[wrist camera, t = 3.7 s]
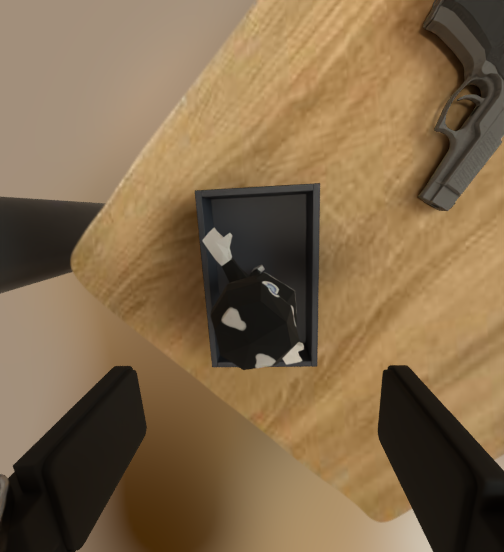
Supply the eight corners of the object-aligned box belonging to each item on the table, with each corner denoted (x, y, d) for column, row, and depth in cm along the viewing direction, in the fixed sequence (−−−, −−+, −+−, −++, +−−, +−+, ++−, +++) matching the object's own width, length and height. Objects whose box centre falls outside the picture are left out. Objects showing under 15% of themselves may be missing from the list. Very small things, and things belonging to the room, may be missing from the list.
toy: (314, 309, 29) (362, 408, 14) (269, 334, 30) (271, 449, 15) (251, 208, 26) (232, 202, 12) (205, 239, 27) (136, 268, 13)
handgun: (348, 149, 23) (457, 213, 23) (481, -73, 18) (617, 14, 18) (340, 155, 26) (437, 212, 26) (451, -33, 21) (568, 41, 21)
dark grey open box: (219, 346, 31) (212, 367, 27) (206, 194, 27) (194, 190, 22) (310, 344, 30) (317, 366, 26) (311, 188, 26) (320, 183, 22)
